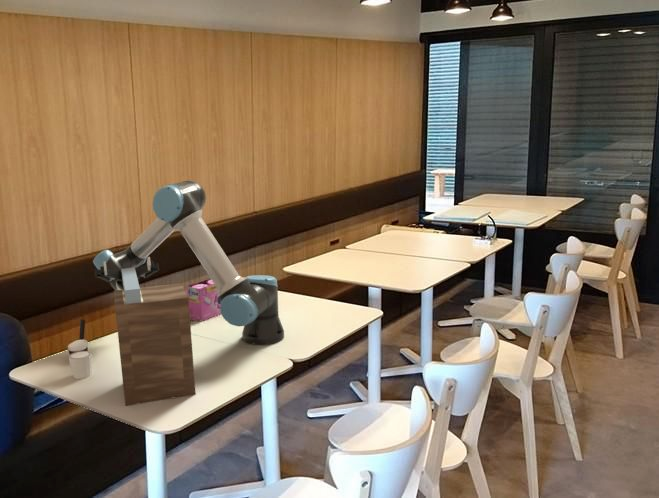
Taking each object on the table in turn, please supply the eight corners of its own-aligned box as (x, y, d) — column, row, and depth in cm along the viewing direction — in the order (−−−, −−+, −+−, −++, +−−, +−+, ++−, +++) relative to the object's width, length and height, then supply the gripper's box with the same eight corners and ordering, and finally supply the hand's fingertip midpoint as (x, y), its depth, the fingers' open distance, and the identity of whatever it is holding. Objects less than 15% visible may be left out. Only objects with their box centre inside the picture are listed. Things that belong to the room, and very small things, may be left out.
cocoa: (74, 364, 219) (70, 331, 216) (62, 360, 222) (58, 328, 219) (97, 354, 227) (93, 322, 223) (85, 350, 230) (81, 318, 226)
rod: (122, 281, 205) (121, 269, 204) (135, 279, 207) (134, 267, 206) (126, 304, 182) (125, 290, 181) (141, 302, 184) (139, 288, 183)
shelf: (123, 383, 202) (113, 290, 196) (188, 373, 209) (181, 282, 202) (125, 405, 188) (115, 305, 181) (195, 394, 194) (188, 297, 187)
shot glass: (74, 371, 213) (72, 351, 211) (96, 370, 213) (93, 350, 212) (68, 380, 206) (65, 359, 204) (90, 378, 207) (88, 358, 205)
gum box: (230, 302, 280) (228, 272, 277) (244, 305, 276) (242, 274, 273) (188, 318, 262) (185, 285, 259) (201, 321, 257) (199, 288, 254)
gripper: (165, 286, 232) (168, 270, 212) (90, 295, 224) (87, 278, 204) (162, 266, 234) (165, 248, 214) (88, 274, 225) (84, 256, 206)
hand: (127, 263), depth 209 cm, fingers open, 13 cm apart
